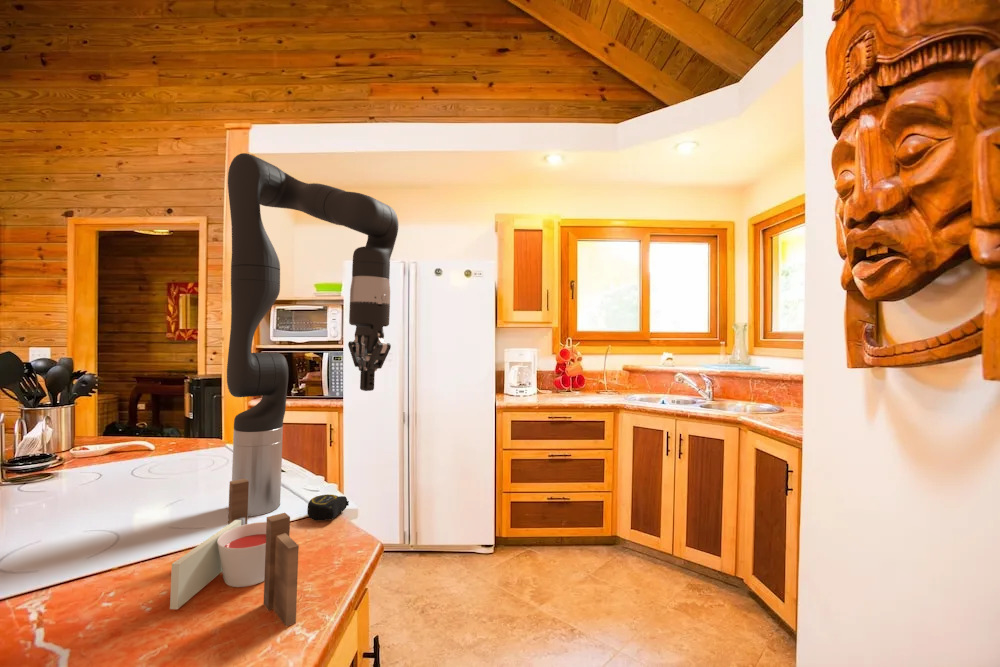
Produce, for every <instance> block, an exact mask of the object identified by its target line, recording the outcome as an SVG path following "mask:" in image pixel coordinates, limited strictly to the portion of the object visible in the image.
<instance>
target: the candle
mask: <svg viewBox="0 0 1000 667" xmlns="http://www.w3.org/2000/svg"><path fill="white" fill-rule="evenodd" d="M266 524H267V521H261V522H252V523H247V524H246V525H242V526H238V527H235V528H233V529H230V530H228V531H226V532H225V533H223V534H222V535H221V536H220V537H219V538H218V540H217V544H218V550H219V556H220V562H221V567H222V572H221V573H222V578H223V581H224V583H225V584H226V585H227V586H229V587H233V588H245V587H250V586H254V585H257V584H260V583H264V577H265V551H266Z"/></svg>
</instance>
